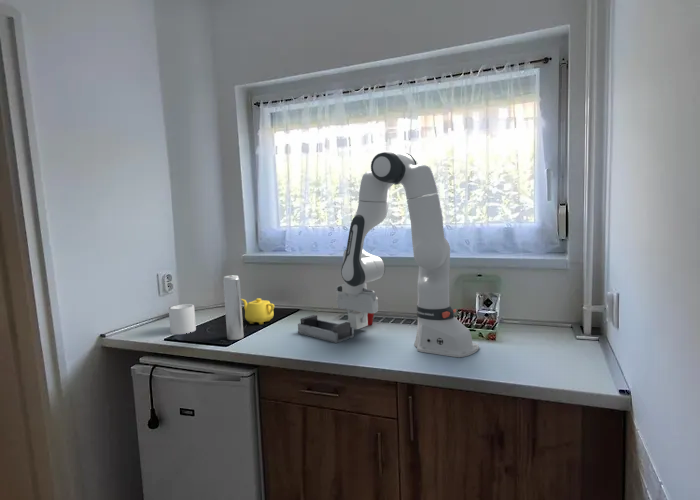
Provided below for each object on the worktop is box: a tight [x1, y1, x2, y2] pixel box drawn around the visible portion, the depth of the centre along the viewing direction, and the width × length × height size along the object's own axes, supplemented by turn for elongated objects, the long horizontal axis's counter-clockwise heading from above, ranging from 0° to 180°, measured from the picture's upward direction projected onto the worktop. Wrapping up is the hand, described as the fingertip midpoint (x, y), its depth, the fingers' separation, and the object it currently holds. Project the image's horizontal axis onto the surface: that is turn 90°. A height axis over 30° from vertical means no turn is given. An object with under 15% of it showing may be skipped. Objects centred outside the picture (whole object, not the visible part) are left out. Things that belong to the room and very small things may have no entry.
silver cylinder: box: [222, 274, 245, 341], centre depth 174 cm, size 6×6×25 cm
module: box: [347, 311, 369, 330], centre depth 176 cm, size 5×6×6 cm
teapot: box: [241, 297, 275, 325], centre depth 198 cm, size 18×11×11 cm, turn 65°
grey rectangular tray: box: [297, 314, 355, 344], centre depth 174 cm, size 22×10×6 cm, turn 46°
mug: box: [168, 303, 197, 335], centre depth 189 cm, size 14×10×11 cm
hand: (358, 321), depth 176 cm, fingers closed on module, 4 cm apart
